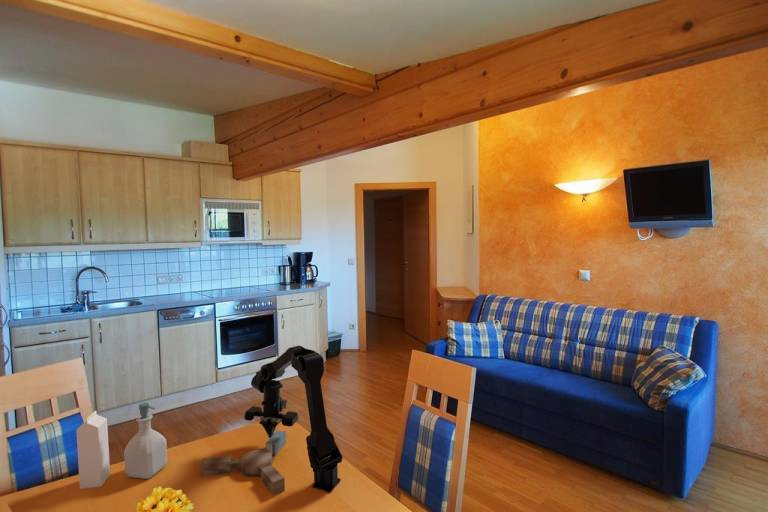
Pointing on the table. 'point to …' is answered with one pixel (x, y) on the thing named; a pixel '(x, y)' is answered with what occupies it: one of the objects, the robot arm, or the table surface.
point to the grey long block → (276, 442)
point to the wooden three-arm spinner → (247, 468)
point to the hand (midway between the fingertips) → (271, 438)
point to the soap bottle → (145, 448)
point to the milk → (93, 452)
